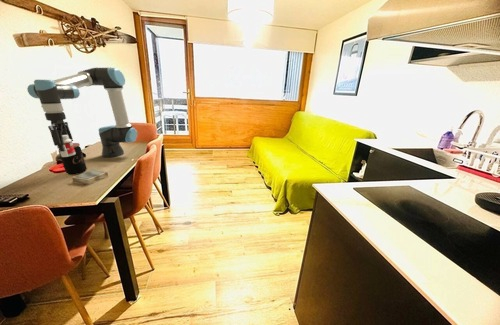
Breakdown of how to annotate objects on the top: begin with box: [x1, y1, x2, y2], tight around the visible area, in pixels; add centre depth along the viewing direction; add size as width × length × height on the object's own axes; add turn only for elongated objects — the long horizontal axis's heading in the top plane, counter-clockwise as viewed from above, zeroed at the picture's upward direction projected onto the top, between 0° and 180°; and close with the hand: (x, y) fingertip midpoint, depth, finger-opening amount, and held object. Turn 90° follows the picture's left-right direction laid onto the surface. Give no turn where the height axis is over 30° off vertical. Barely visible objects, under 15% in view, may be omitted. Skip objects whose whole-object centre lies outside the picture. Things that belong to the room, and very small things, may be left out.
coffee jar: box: [56, 142, 88, 176], centre depth 127 cm, size 11×11×18 cm
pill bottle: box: [58, 135, 76, 156], centre depth 109 cm, size 6×6×11 cm
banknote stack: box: [71, 169, 109, 186], centre depth 119 cm, size 12×12×3 cm
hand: (68, 154), depth 111 cm, fingers closed on pill bottle, 6 cm apart
